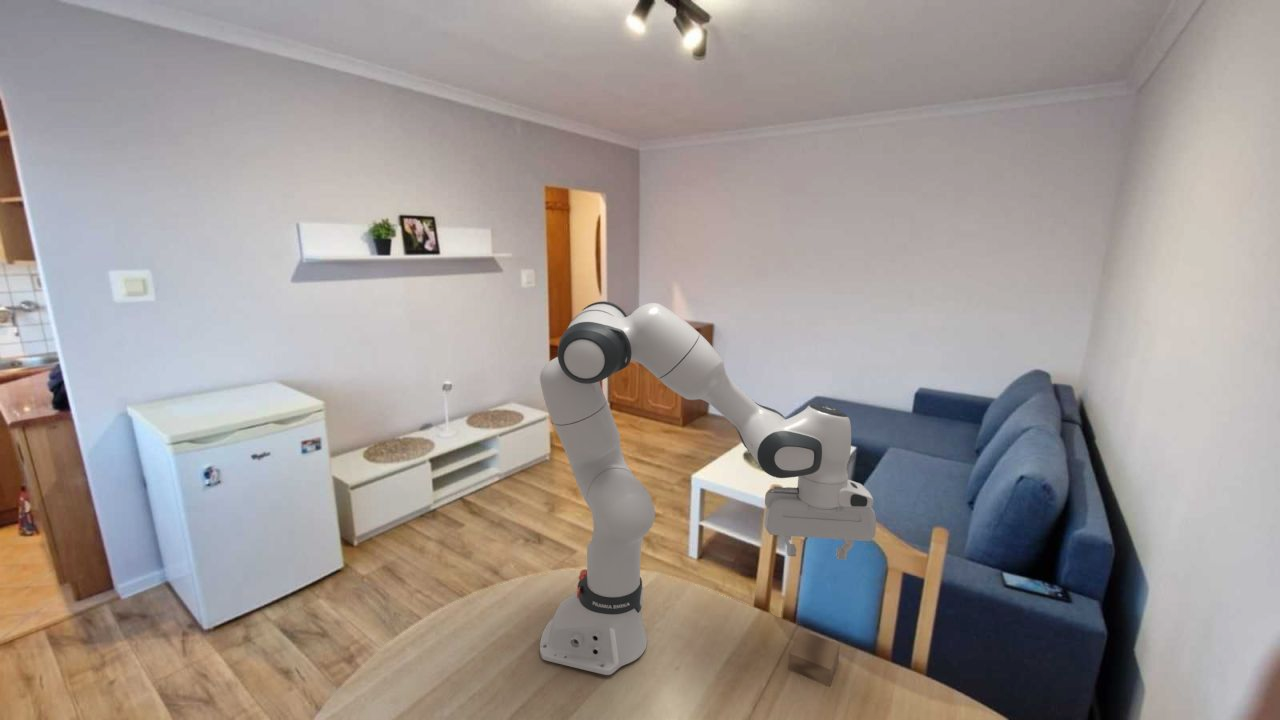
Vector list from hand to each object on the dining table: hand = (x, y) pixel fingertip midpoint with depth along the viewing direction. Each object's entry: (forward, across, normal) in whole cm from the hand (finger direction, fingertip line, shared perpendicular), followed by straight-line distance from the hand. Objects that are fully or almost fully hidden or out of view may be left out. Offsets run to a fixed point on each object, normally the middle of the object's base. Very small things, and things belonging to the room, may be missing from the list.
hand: (815, 556), depth 102 cm
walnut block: (+24, +2, 0) cm, 24 cm away
